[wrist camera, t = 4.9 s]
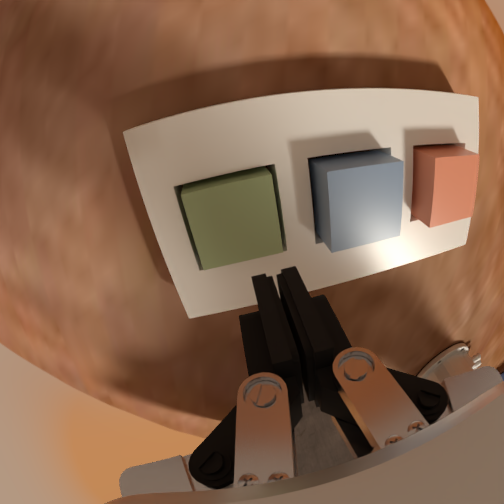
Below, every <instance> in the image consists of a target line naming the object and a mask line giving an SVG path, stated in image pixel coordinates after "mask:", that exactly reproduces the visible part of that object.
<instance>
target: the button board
mask: <svg viewBox="0 0 504 504" xmlns="http://www.w3.org/2000/svg"><path fill="white" fill-rule="evenodd" d="M123 135H124V139H125V142H126V146H127V149H128V153H129V156H130V160H131V163H132V166H133V170H134V173H135V176H136V179H137V183H138V186H139V189H140V192H141V195H142V198H143V201H144V204H145V207H146V210H147V213H148V216H149V219H150V221H151V224H152V227H153V230H154V233H155V235H156V238H157V241H158V243H159V246H160V249H161V251H162V254H163V257H164V259H165V262H166V264H167V267H168V269H169V272H170V274H171V277H172V279H173V282H174V284H175V287H176V289H177V292H178V294H179V296H180V299H181V301H182V303H183V306H184V308H185V310H186V313H187V315H188V317H189V319H190V318H195V317H200V316H205V315H210V314H215V313H219V312H224V311H229V310H233V309H238V308H242V307H247V306H251V305H256V304H257V299H256V295H255V291H254V287H253V282H252V278H251V277H252V276H256V275H260V274H264V273H265V274H266V276H267V277H268V276H272V277H273V280H274V283H275V286H276V288H277V291H278V294H279V289H278V283H277V277H276V275H277V274H281V269H285V268H289V267H293V266H296V268H297V270H298V272H299V274H300V276H301V278H302V280H303V282H304V284H305V286H306V288H307V291H308V292H309V291H313V290H317V289H321V288H324V287H328V286H332V285H336V284H339V283H343V282H347V281H350V280H354V279H357V278H361V277H364V276H368V275H371V274H375V273H378V272H382V271H385V270H388V269H392V268H395V267H398V266H401V265H405V264H408V263H411V262H414V261H417V260H420V259H424V258H427V257H430V256H433V255H436V254H439V253H442V252H445V251H448V250H451V249H454V248H456V247H459V246H462V245H465V244H466V240H467V235H468V230H469V225H470V219H471V217H468V218H465V219H461V220H457V221H454V222H450V223H446V224H443V225H439V226H435V227H431V228H429V227H428V226H426V225H425V224H424V223H422V222H421V221H420V220H418V219H417V218H416V217H414V216H413V215H412V214H411V204H412V186H413V145H427V144H442V145H452V144H454V145H456V146H459V147H462V148H464V149H467V150H469V151H472V152H474V153H477V154H478V147H479V103H478V97H475V96H470V95H464V94H458V93H451V92H443V91H434V90H422V89H406V88H337V89H321V90H308V91H298V92H289V93H281V94H273V95H266V96H260V97H253V98H247V99H242V100H236V101H231V102H226V103H221V104H216V105H212V106H207V107H203V108H199V109H195V110H191V111H187V112H183V113H179V114H175V115H172V116H168V117H165V118H161V119H158V120H155V121H151V122H148V123H145V124H142V125H139V126H136V127H133V128H131V129H128V130H126V131H124V132H123ZM361 150H370V151H373V150H379V151H381V152H384V153H386V154H389V155H391V156H393V157H395V158H398V159H400V160H402V161H404V173H403V202H402V218H401V230H400V236H397V237H393V238H389V239H385V240H381V241H377V242H374V243H370V244H366V245H362V246H358V247H354V248H350V249H346V250H341V251H337V252H333V253H331V251H330V250H329V249H328V247H327V246H326V245H325V243H324V242H323V240H322V239H321V238H320V236H319V235H318V234H317V232H316V231H315V223H314V218H313V206H312V196H311V186H310V176H309V167H308V159H307V158H311V157H317V156H324V155H330V154H337V153H345V152H353V151H361ZM265 165H267V167H268V171H269V172H270V173H271V174H272V180H273V186H274V193H275V199H276V206H277V212H278V219H279V226H280V233H281V240H282V247H283V252H282V253H278V254H274V255H269V256H265V257H261V258H256V259H252V260H247V261H243V262H239V263H234V264H230V265H225V266H221V267H217V268H212V269H208V270H204V269H203V266H202V263H201V260H200V257H199V254H198V251H197V248H196V245H195V241H194V238H193V235H192V232H191V228H190V225H189V222H188V218H187V215H186V212H185V208H184V205H183V201H182V198H181V192H182V184H185V183H189V182H193V181H197V180H201V179H206V178H210V177H214V176H218V175H223V174H227V173H232V172H236V171H241V170H246V169H250V168H255V167H260V166H265ZM279 297H280V295H279Z"/></svg>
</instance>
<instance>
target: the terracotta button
mask: <svg viewBox="0 0 504 504" xmlns="http://www.w3.org/2000/svg"><path fill="white" fill-rule="evenodd" d="M478 169H479V154H477V153H474V152H472V151H469V150H467V149H464V148H462V147H459V146H456V145H454V144H452V145H432V146H417V147H413V186H412V204H411V214H412V215H413V216H414V217H416V218H417V219H418V220H420V221H421V222H422V223H424V224H425V225H426V226H428V227H429V228H431V227H435V226H439V225H443V224H446V223H450V222H454V221H457V220H461V219H465V218H468V217H472V216H473V210H474V203H475V196H476V188H477V180H478Z"/></svg>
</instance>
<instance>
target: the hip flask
mask: <svg viewBox="0 0 504 504" xmlns="http://www.w3.org/2000/svg"><path fill="white" fill-rule="evenodd" d="M303 394H304V403H303V404H301V405H302V414H303V417H302V418H301V420H300V421H299V423H298V424H297V425H296V427H295V436H296V449H297V463H298V476H301V475H305V474H309V473H313V472H316V471H320V470H324V469H327V468H330V467H333V466H337V465H340V464H343V463H346V462H349V461H352V460H354V458H353V456H352V454H351V453H350V451H349V449H348V447H347V446H346V444H345V442H344V440H343V439H342V437H341V435H340V433H339V432H338V430H337V428H336V426H335V424H334V423H333V421H332V419H331V416H330V415H329V414H326V413H324V412H321V410H320V407H317V408H316V405H315V402H314V400H313V401H310V402H309V401H308V398H307V395H306V392H305V389H304V386H303Z"/></svg>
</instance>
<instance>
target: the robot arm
mask: <svg viewBox="0 0 504 504" xmlns="http://www.w3.org/2000/svg"><path fill="white" fill-rule="evenodd" d="M276 277H277V283H278V289H279V294H278V291H277V288H276V286H275V283H274V280H273V277H272V276H268V277H267V276H266V274H265V273H264V274H260V275H256V276H252V277H251V278H252V282H253V287H254V291H255V295H256V299H257V304H258V308H259V311H257V312H253V313H249V314H244V315H240V316H239V320H240V326H241V332H242V338H243V345H244V351H245V357H246V362H247V368H248V374H249V377H248V378H247V379H245V380H244V381H243V382H242V384H241V385H240V387H239V389H238V394H237V405H236V406H235V407H234V408H233V409H232V410H231V412H230V413H229V414H228V415H227V416H226V417H225V418H224V419H223V420H222V422H221V423H220V424H219V425H218V426H217V427H216V428H215V429H214V430H213V431H212V433H211V434H210V435H209V436H208V437H207V438H206V439H205V440H204V441H203V442H202V443H201V444H200V445H199V446H198V447H197V448H196V449H195V450H194V452H193V453H192V454H190V455H187V456H184V457H182V456H181V455H179V456H176V457H172V458H169V459H165V460H161V461H156V462H152V463H148V464H144V465H139V466H134V467H131V468H128V469H126V470H125V471H124V472H123V473H122V474H121V477H120V480H119V482H120V490H121V494H122V498H118V499H115V500H112V501H109V502H107V503H105V504H504V381H503V379H502V377H501V375H500V373H499V372H498V370H496V369H495V368H494V367H490V366H486V367H481V368H479V369H476V370H474V369H475V368H477V367H478V366H480V364H481V361H480V359H481V355H480V354H479V353H477V354H476V355H474V356H473V357H472V358H471V357H470V356H469V355H468V351H469V348H468V347H467V345H466V344H465V343H459V344H456V345H453V346H451V347H450V348H448V349H446V350H445V351H443V352H442V353H440V354H439V355H438V356H437V357H435V358H434V359H433V360H432V361H431V362H429V363H428V364H427V365H426V366H425V367H424V368H423V369H422V371H421V372H420V373H419V374H418V375H417V376H413V375H410V374H406V373H403V372H399V371H396V370H393V369H389V368H386V367H385V366H384V365H383V363H382V362H381V361H380V359H379V358H378V357H377V356H376V355H375V354H374V353H373V352H372V351H370V350H368V349H366V348H361V347H352V346H351V344H350V342H349V341H348V339H347V337H346V335H345V333H344V331H343V329H342V327H341V325H340V323H339V321H338V319H337V317H336V315H335V313H334V312H333V310H332V308H331V306H330V304H329V302H328V300H327V298H326V297H325V296H324V295H320V296H316V297H313V298H311V297H310V295H309V293H308V291H307V288H306V286H305V284H304V282H303V280H302V278H301V276H300V274H299V272H298V270H297V268H296V266H293V267H289V268H285V269H281V274H277V275H276ZM279 295H280V297H279ZM302 383H303V384H302ZM303 386H304V389H305V392H306V395H307V398H308V401H309V402H310V401H313V400H314V402H315V405H316V408H317V407H320V410H321V412H324V413H326V414H329V415H330V416H331V419H332V421H333V423H334V424H335V426H336V428H337V430H338V432H339V433H340V435H341V437H342V439H343V440H344V442H345V444H346V446H347V447H348V449H349V451H350V453H351V454H352V456H353V458H354V460H352V461H349V462H346V463H343V464H340V465H337V466H333V467H330V468H327V469H324V470H320V471H316V472H313V473H309V474H305V475H301V476H298V463H297V449H296V436H295V427H296V425H297V424H298V423H299V421H300V420H301V418H302V417H303V414H302V405H301V404H303V403H304V394H303Z"/></svg>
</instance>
